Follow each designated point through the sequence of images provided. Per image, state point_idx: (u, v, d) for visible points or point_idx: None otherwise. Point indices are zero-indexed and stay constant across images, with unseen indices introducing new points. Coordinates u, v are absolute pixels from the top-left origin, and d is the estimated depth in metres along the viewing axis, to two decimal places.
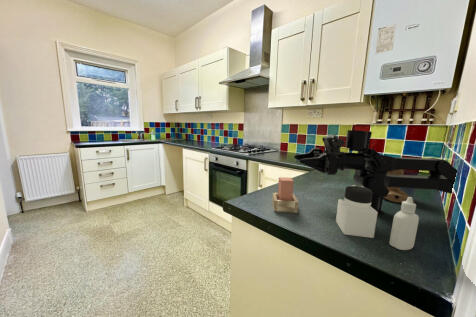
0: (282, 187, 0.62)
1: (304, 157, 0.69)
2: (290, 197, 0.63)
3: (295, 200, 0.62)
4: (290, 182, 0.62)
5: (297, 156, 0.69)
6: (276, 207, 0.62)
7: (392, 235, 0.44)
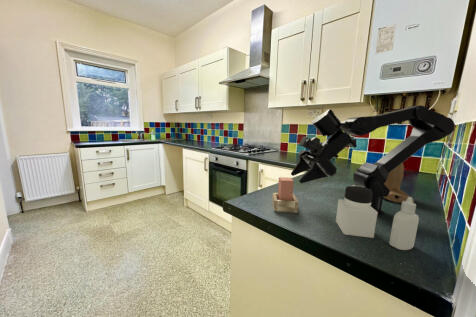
0: (282, 187, 0.62)
1: (299, 168, 0.68)
2: (290, 197, 0.63)
3: (295, 200, 0.62)
4: (290, 182, 0.62)
5: (293, 172, 0.68)
6: (276, 207, 0.62)
7: (392, 235, 0.44)
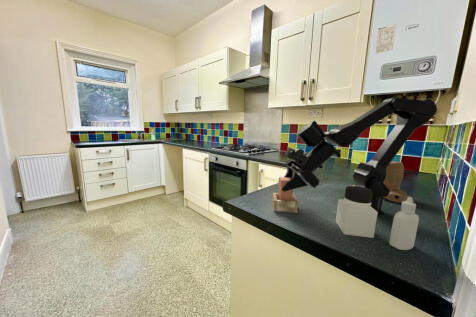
0: (282, 187, 0.62)
1: None
2: (290, 197, 0.63)
3: (295, 200, 0.62)
4: None
5: None
6: (276, 207, 0.62)
7: (392, 235, 0.44)
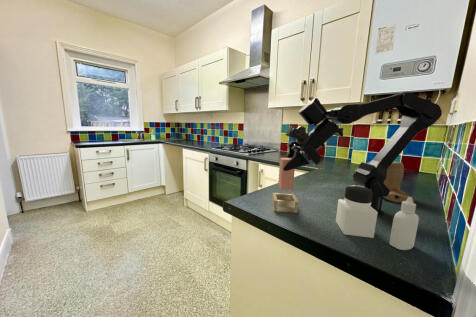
0: (283, 166, 0.61)
1: None
2: (292, 177, 0.61)
3: (295, 200, 0.62)
4: None
5: None
6: (276, 207, 0.62)
7: (392, 235, 0.44)
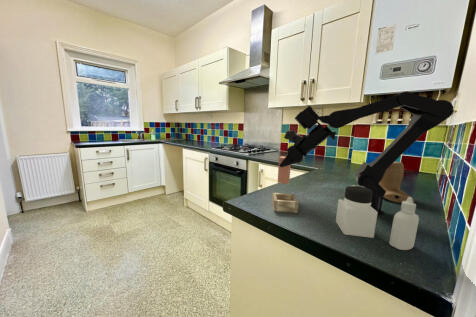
0: (279, 163, 0.73)
1: None
2: (286, 173, 0.73)
3: (295, 200, 0.62)
4: None
5: None
6: (276, 207, 0.62)
7: (392, 235, 0.44)
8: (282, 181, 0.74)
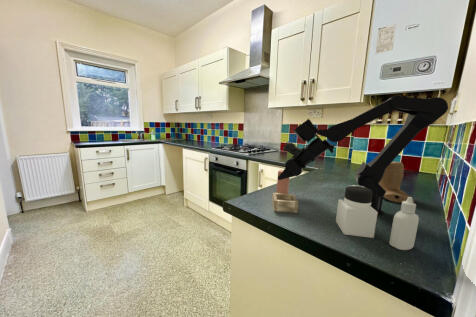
0: None
1: None
2: (285, 186, 0.74)
3: (295, 200, 0.62)
4: None
5: None
6: (276, 207, 0.62)
7: (392, 235, 0.44)
8: None
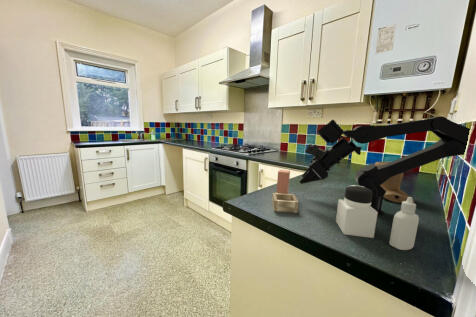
0: (278, 177, 0.74)
1: None
2: (285, 186, 0.74)
3: (295, 200, 0.62)
4: (285, 174, 0.73)
5: (304, 175, 0.77)
6: (276, 207, 0.62)
7: (392, 235, 0.44)
8: None
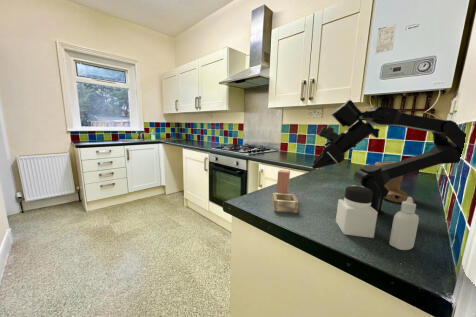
0: (278, 177, 0.74)
1: None
2: (285, 186, 0.74)
3: (295, 200, 0.62)
4: (285, 173, 0.73)
5: (315, 161, 0.73)
6: (276, 207, 0.62)
7: (392, 235, 0.44)
8: None
